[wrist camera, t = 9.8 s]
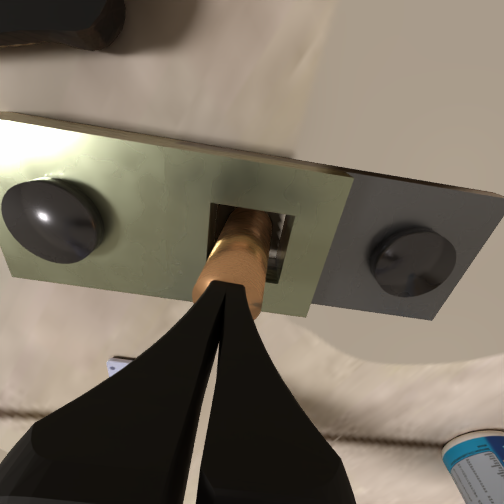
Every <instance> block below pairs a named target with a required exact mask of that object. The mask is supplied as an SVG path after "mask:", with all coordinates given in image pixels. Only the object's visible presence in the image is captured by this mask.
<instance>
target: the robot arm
mask: <svg viewBox="0 0 504 504" xmlns="http://www.w3.org/2000/svg"><path fill="white" fill-rule="evenodd" d="M218 344H219V352H218V365H217V378H216V384H215V390H214V395H213V401H212V407H211V412H210V418H209V423H208V429H207V434H206V439H205V445H204V450H203V456H202V461H201V467H200V474H199V482H198V490H197V499H196V504H356V501H355V497H354V494H353V491H352V488H351V485H350V482H349V479H348V476H347V474H346V471H345V468H344V465H343V463H342V460H341V458H340V457H339V456H338V454H337V453H336V452H335V451H334V450H333V448H332V447H331V446H330V445H329V443H328V442H327V441H326V440H325V439H324V437H323V436H322V435H321V433H320V432H319V431H318V430H317V428H316V427H315V426H314V425H313V423H312V422H311V420H310V419H309V418H308V416H307V415H306V414H305V412H304V411H303V410H302V408H301V407H300V405H299V404H298V402H297V401H296V399H295V398H294V396H293V395H292V393H291V392H290V390H289V389H288V387H287V386H286V384H285V383H284V381H283V380H282V378H281V376H280V375H279V373H278V371H277V369H276V368H275V366H274V364H273V362H272V360H271V359H270V357H269V355H268V353H267V351H266V349H265V347H264V345H263V342H262V340H261V338H260V336H259V333H258V331H257V328H256V326H255V323H254V320H253V317H252V315H251V312H250V308H249V305H248V301H247V297H246V291H245V287H244V285H241V284H235V283H230V282H224V281H218V280H213V281H211V282H210V284H209V285H208V287H207V288H206V290H205V291H204V292H203V294H202V295H201V296H200V298H199V299H198V300H197V301H196V302H195V304H194V305H193V306H192V307H191V308H190V309H189V311H188V312H187V313H186V314H185V315H184V316H183V317H182V318H181V319H180V320H179V321H178V322H177V323H176V324H175V325H174V326H173V327H172V328H171V329H170V330H169V331H168V332H167V333H166V334H165V335H164V336H163V337H161V338H160V339H159V340H158V341H157V342H156V343H154V344H153V345H152V346H151V347H150V348H148V349H147V350H146V351H145V352H143V353H142V354H141V355H140V356H138V357H137V358H136V359H135V360H126V359H118V358H110V359H109V360H108V361H107V368H108V373H109V378H108V379H106V380H105V381H103V382H102V383H100V384H99V385H97V386H96V387H94V388H93V389H91V390H90V391H88V392H86V393H85V394H83V395H82V396H80V397H78V398H76V399H75V400H73V401H71V402H70V403H68V404H66V405H65V406H63V407H61V408H60V409H58V410H56V411H54V412H53V413H51V414H49V415H48V416H46V417H44V418H42V419H41V420H39V421H37V422H35V423H34V424H33V425H32V426H31V428H30V429H29V430H28V431H27V432H26V433H25V435H24V436H23V437H22V438H21V439H20V440H19V441H18V442H17V443H16V445H15V446H14V447H13V448H12V449H11V451H10V452H9V453H8V454H7V456H6V457H5V458H4V460H3V461H2V462H1V464H0V504H183V501H184V495H185V490H186V485H187V479H188V474H189V469H190V464H191V458H192V453H193V448H194V442H195V437H196V432H197V427H198V422H199V416H200V412H201V406H202V402H203V398H204V394H205V390H206V387H207V383H208V380H209V376H210V373H211V369H212V366H213V362H214V359H215V355H216V351H217V348H218Z"/></svg>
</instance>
